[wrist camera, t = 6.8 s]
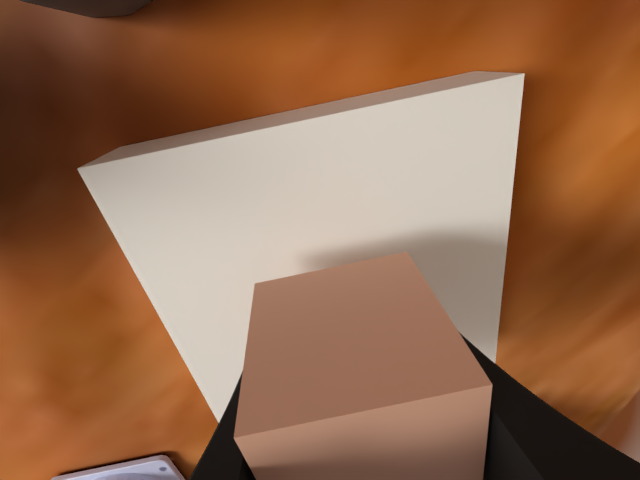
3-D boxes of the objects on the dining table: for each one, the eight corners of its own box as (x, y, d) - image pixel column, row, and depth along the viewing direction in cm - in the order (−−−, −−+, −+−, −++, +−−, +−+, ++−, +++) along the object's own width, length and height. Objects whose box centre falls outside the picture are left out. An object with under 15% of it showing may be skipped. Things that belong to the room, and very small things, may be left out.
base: (465, 334, 19) (493, 376, 17) (232, 382, 20) (223, 432, 17) (474, 71, 13) (524, 72, 10) (119, 146, 13) (76, 168, 10)
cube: (414, 358, 13) (480, 508, 9) (290, 384, 13) (292, 547, 9) (406, 251, 11) (492, 384, 6) (254, 283, 11) (234, 438, 6)
